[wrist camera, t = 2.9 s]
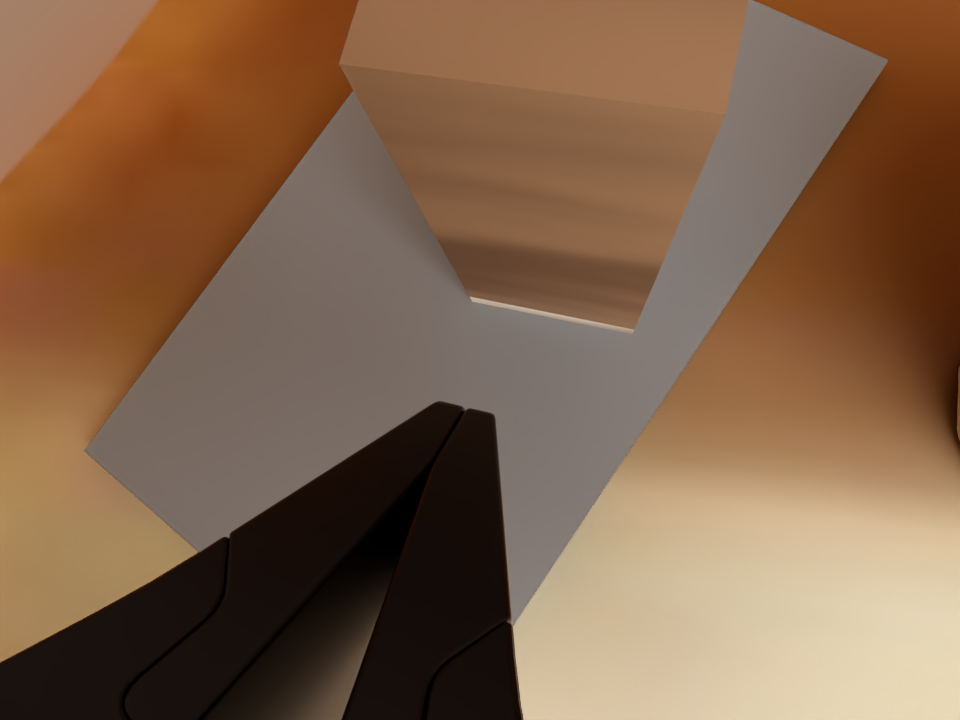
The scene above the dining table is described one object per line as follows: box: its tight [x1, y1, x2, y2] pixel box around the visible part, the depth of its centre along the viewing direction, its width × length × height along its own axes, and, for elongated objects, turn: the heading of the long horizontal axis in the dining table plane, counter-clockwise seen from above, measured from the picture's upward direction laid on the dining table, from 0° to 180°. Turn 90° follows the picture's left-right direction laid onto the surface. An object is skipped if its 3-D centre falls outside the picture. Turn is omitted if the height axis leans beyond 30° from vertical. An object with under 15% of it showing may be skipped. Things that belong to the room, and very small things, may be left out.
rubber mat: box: [84, 0, 889, 626], centre depth 17 cm, size 22×13×1 cm, turn 145°
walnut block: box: [339, 0, 748, 334], centre depth 12 cm, size 4×4×10 cm
